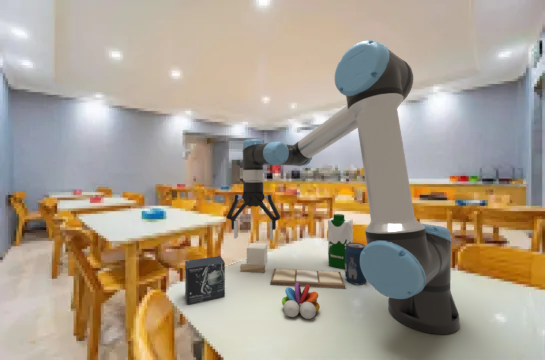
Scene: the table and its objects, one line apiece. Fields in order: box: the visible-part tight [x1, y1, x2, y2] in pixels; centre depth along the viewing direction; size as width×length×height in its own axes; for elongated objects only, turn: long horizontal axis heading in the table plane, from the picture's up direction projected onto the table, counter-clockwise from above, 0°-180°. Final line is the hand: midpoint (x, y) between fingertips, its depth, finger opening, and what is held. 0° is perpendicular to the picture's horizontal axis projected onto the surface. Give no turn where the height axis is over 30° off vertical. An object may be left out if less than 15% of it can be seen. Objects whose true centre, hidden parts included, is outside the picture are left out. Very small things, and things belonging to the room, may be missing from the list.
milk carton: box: [327, 213, 354, 270], centre depth 96 cm, size 9×9×20 cm
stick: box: [239, 263, 266, 274], centre depth 90 cm, size 2×9×2 cm, turn 83°
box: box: [184, 255, 226, 306], centre depth 72 cm, size 11×7×10 cm, turn 115°
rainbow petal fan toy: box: [281, 283, 320, 320], centre depth 64 cm, size 8×10×7 cm
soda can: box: [344, 242, 367, 285], centre depth 81 cm, size 7×7×12 cm
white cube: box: [246, 242, 268, 266], centre depth 98 cm, size 7×7×7 cm
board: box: [269, 268, 346, 290], centre depth 83 cm, size 11×24×1 cm, turn 83°
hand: (253, 238), depth 92 cm, fingers open, 13 cm apart
